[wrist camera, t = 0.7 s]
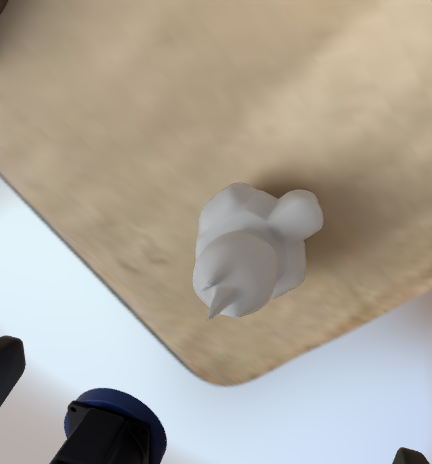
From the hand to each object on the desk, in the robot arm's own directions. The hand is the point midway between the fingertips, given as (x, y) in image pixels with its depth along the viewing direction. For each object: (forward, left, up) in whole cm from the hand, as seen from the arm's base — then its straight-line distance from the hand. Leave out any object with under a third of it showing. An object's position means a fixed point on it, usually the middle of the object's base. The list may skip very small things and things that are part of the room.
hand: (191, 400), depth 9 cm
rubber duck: (0, 0, -12) cm, 12 cm away
